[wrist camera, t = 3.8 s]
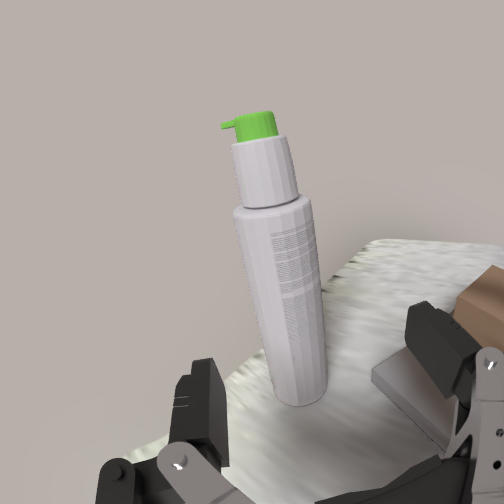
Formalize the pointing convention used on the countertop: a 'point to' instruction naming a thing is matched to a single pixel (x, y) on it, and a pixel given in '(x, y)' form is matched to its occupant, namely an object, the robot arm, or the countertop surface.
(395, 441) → the countertop surface
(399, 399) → the pedestal stand
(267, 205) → the bottle
